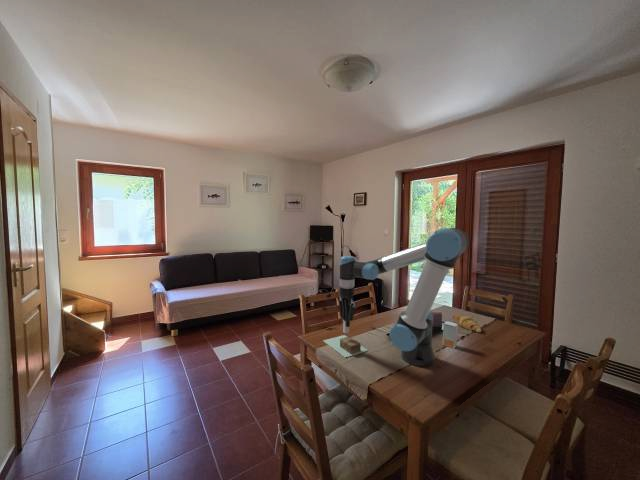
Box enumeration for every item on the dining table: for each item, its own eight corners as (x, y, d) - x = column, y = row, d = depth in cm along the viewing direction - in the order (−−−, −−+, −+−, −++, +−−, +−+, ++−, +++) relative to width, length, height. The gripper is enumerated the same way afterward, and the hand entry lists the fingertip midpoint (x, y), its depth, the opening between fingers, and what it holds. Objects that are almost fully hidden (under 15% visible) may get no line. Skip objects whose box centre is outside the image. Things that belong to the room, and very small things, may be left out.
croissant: (484, 339, 157) (490, 326, 157) (472, 332, 154) (478, 320, 154) (456, 324, 177) (461, 313, 177) (445, 318, 174) (451, 307, 174)
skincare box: (442, 345, 141) (443, 323, 140) (444, 342, 144) (446, 320, 143) (454, 349, 137) (455, 326, 136) (457, 346, 140) (458, 323, 139)
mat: (367, 350, 134) (367, 350, 134) (345, 358, 127) (345, 357, 127) (344, 335, 151) (344, 334, 151) (322, 341, 144) (322, 340, 144)
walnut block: (349, 343, 141) (360, 351, 133) (339, 346, 138) (350, 354, 130) (349, 336, 140) (360, 343, 133) (340, 338, 137) (350, 346, 130)
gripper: (361, 288, 132) (359, 335, 134) (345, 283, 143) (344, 326, 145) (348, 290, 128) (347, 338, 130) (333, 284, 139) (332, 328, 141)
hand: (346, 332), depth 138 cm, fingers closed
